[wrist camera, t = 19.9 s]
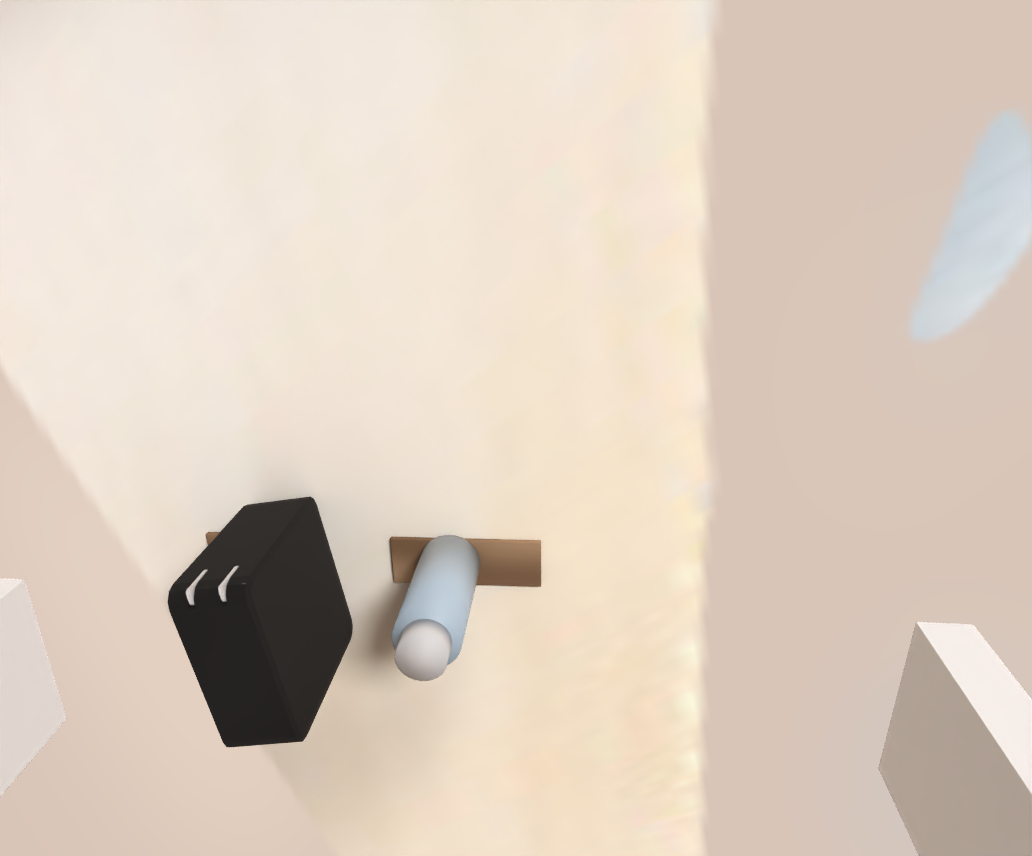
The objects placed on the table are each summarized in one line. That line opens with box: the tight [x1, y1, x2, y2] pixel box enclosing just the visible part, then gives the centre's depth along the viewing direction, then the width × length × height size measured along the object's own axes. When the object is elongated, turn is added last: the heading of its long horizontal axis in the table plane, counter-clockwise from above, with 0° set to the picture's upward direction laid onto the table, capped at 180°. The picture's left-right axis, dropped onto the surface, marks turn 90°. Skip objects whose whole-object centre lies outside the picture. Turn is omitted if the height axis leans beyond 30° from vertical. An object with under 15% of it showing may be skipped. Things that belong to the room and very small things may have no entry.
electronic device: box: [168, 497, 353, 747], centre depth 41 cm, size 4×10×10 cm, turn 10°
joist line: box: [206, 532, 541, 586], centre depth 45 cm, size 3×20×1 cm, turn 91°
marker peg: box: [392, 535, 480, 681], centre depth 40 cm, size 4×4×9 cm
